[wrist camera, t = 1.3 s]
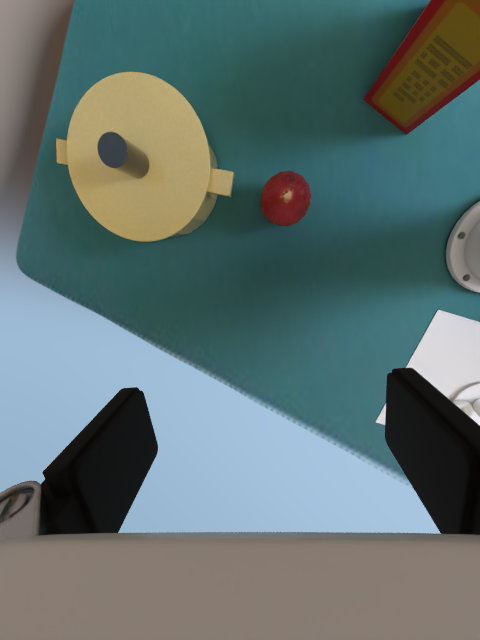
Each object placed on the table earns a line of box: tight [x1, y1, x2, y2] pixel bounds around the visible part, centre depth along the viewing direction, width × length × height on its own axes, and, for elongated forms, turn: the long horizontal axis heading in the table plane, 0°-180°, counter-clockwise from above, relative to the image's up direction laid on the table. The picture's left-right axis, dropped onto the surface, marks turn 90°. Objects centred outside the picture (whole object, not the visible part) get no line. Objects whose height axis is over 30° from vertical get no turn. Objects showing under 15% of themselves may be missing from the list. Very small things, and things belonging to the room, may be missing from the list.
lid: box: [67, 72, 211, 242], centre depth 26 cm, size 16×16×6 cm
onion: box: [261, 171, 311, 226], centre depth 30 cm, size 6×6×8 cm
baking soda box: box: [363, 0, 480, 134], centre depth 21 cm, size 10×6×16 cm
